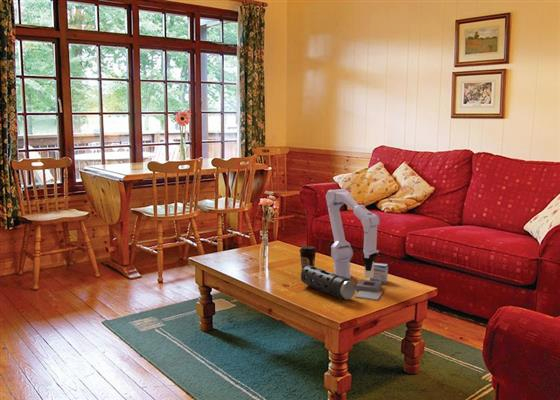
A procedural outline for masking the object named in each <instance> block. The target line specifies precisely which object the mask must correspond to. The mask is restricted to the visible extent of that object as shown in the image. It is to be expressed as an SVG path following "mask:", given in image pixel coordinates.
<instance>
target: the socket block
mask: <svg viewBox="0 0 560 400" xmlns="http://www.w3.org/2000/svg"><path fill="white" fill-rule="evenodd" d="M382 284H383V283H382V282H379V281H371V280H370V279H360V280H359V281H358V282H357V284H355V286H356V290H355V292H359V291H360V290H363V291H371V292H380V290H381V288H382V287H383V285H382Z"/></svg>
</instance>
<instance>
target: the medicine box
mask: <svg viewBox="0 0 560 400" xmlns="http://www.w3.org/2000/svg"><path fill="white" fill-rule="evenodd" d="M388 273H389V263H381V262H380V263H379V262H374V276H373V278H369V280H371V281H379V282H382V284H387V282H388Z"/></svg>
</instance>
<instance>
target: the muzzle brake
mask: <svg viewBox="0 0 560 400" xmlns="http://www.w3.org/2000/svg"><path fill="white" fill-rule="evenodd" d="M301 270H302V269H301ZM307 271H308V272H307ZM300 280H301V282H302V283H303V284H305V285H307V286H308V287H310V288H312V289H315V290H316V291H319V292H323V293H327V294H330V295H332V297H333V298H335V299H340V300H342V301H343V300H348V301H349V300H350V299H352V298H353V297H354V296H355V294H356V284H355V282H354V281H353V280H352V279H351V278H350V279H349V278H346V277H343V276H339V275H336V274H334V273H333V272H330V271H327V270H324V269H322V268H319V267H316V266H315V265H314V266H311V265H308V266H306V267H305V268H304V269H303V270H302V271H301V272H300Z"/></svg>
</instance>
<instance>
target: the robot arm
mask: <svg viewBox="0 0 560 400" xmlns="http://www.w3.org/2000/svg"><path fill="white" fill-rule="evenodd" d="M325 199H326V206H327V210H328V215H329V220H330V225H331V230H332V236H333V242H334V243H332V245H331V246H330V250H331V252H330V257H331V258H332V260H333V262H334V264H333V265H334V267H333V269H334V271H333V272H334V273H333V274H336V275H339V276H343V277H346V278H349V279H351V278H352V276H353V275H352V274H351V262H350V261H351V259H352V258H353V255H354V252H353V251H354V250H353V249H352V247H351V243H350V242H348V241H347V240H346V236H345V231H344V227H343V226H344V225H343V222H342V217H341V211H340V209H341V207H342V206H343V205H344V204H345V205H346V206H348V207H349V208H350V209H351V210H353V214H354V216H356V217H357V218H358V219H359V220H360V222H361V225H362V226H363V228H362V229H363V233H364V234H363V249H362V252H363V254H362V256H361V259H362V260H363V263H364V269H365V268H366V271H371V268H372V263H373V261H374V262H375V261H376V257H377V255H378V253H379V252H380V250H379V249H377V243H378V241H377V240H378V238H377V237H378V236H377V235H378V226H380V224H381V219H380V217H379V214H377V213H372V212H371V211H369V209H367V208H366V206H365V204H364V205H363V204H358V203H357V202H356V200H355V199H354V198H353V197H352V196H351V194H350V192H349V190H347V189H346V188H342V189H341V188H340V189H329V190H328V191H327V192H326V194H325Z"/></svg>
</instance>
